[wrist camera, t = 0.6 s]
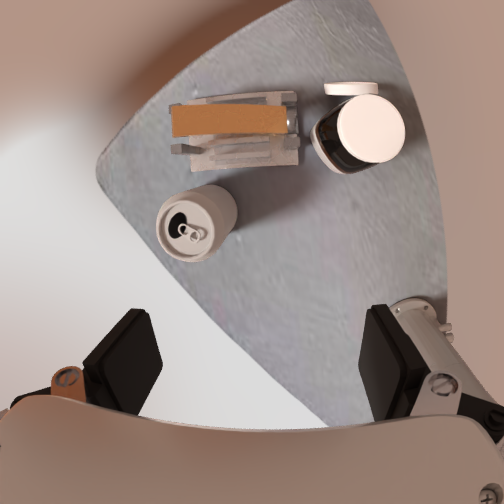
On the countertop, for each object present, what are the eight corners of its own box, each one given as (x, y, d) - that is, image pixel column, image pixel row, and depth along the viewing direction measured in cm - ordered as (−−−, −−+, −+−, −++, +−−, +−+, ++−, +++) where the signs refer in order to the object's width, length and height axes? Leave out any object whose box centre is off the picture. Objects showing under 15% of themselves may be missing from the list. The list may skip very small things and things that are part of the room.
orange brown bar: (292, 109, 28) (299, 106, 27) (293, 134, 29) (301, 133, 28) (170, 108, 23) (172, 104, 22) (171, 138, 24) (174, 135, 23)
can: (199, 174, 37) (166, 180, 25) (248, 199, 37) (235, 215, 26) (177, 222, 39) (140, 246, 27) (223, 246, 39) (202, 280, 28)
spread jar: (330, 180, 35) (353, 188, 24) (283, 110, 33) (285, 87, 22) (398, 139, 32) (441, 132, 21) (353, 71, 30) (381, 39, 19)
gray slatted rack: (293, 92, 32) (297, 73, 24) (297, 164, 35) (304, 164, 27) (189, 102, 33) (166, 87, 25) (193, 171, 36) (171, 174, 28)
